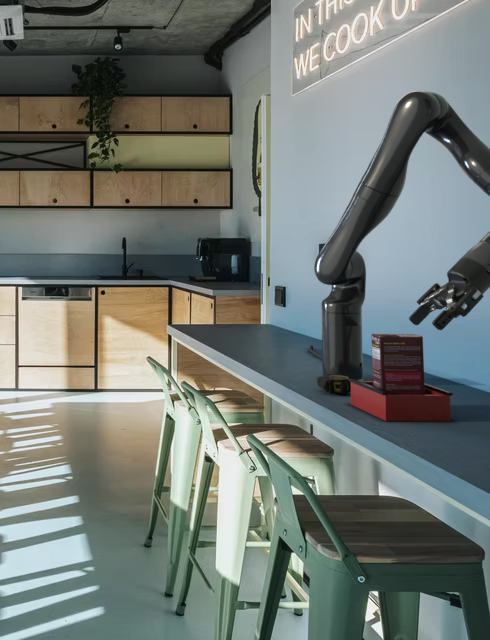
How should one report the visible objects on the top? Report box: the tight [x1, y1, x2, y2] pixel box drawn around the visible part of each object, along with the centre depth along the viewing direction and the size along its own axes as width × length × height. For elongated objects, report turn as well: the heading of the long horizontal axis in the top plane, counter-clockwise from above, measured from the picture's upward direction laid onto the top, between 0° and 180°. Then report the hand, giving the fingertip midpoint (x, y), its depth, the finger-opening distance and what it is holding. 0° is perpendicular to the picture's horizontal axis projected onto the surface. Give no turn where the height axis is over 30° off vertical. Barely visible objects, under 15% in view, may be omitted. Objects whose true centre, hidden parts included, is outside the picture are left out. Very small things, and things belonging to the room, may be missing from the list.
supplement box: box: [371, 333, 425, 395], centre depth 150 cm, size 9×5×16 cm, turn 85°
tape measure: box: [316, 375, 351, 395], centre depth 169 cm, size 7×7×4 cm
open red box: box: [348, 378, 454, 422], centre depth 149 cm, size 15×14×6 cm
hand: (423, 324), depth 150 cm, fingers open, 8 cm apart
